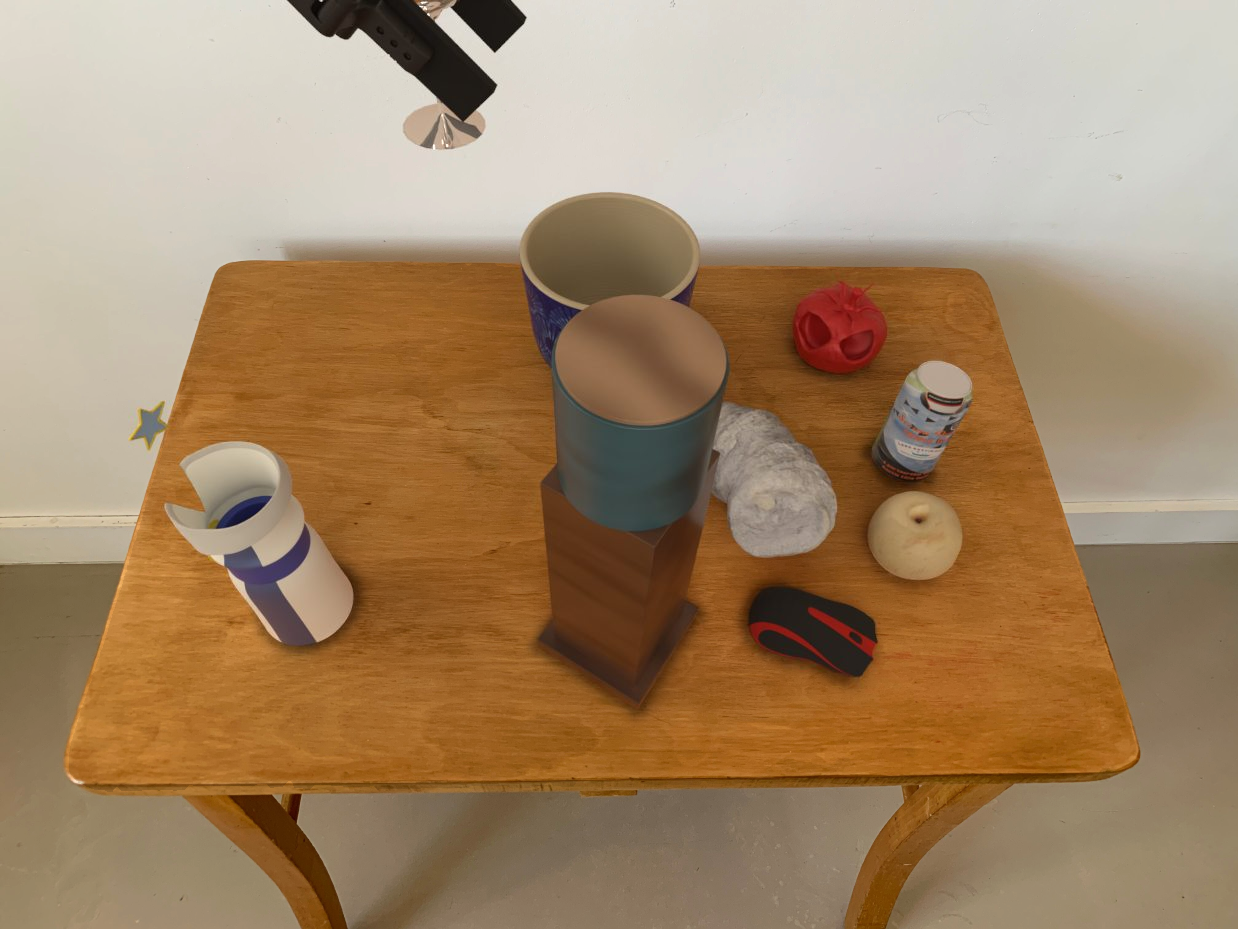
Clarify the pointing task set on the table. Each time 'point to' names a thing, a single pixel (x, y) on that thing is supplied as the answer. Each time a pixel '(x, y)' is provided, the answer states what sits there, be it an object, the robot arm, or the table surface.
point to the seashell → (770, 485)
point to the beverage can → (922, 421)
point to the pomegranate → (838, 328)
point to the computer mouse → (813, 629)
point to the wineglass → (441, 110)
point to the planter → (603, 258)
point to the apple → (915, 535)
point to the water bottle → (259, 536)
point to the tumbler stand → (629, 485)
